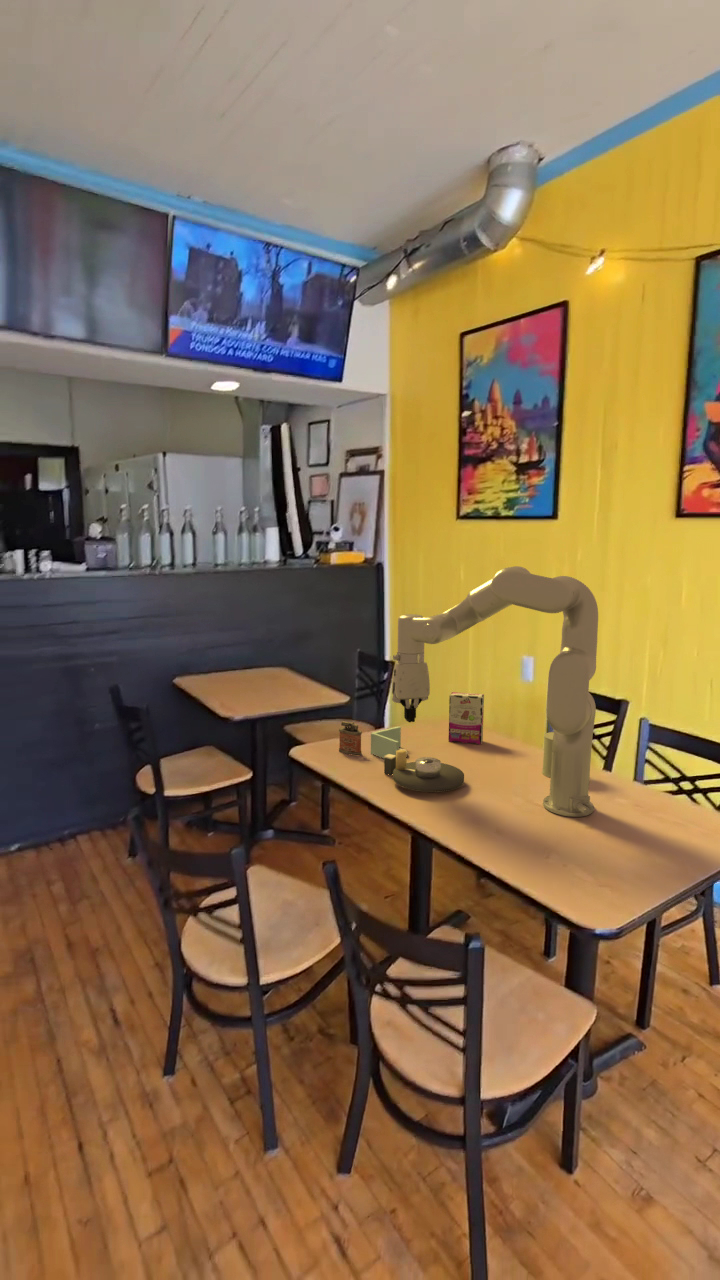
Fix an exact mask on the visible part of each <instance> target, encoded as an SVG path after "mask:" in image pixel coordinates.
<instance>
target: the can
mask: <svg viewBox="0 0 720 1280" xmlns="http://www.w3.org/2000/svg"><path fill="white" fill-rule="evenodd" d="M553 734H554V731H550V732H547V733H544V736H543V738H544V740H543V756H542V757H543V758H542V759H543V760H542V770H541V774H542V775H543V776H544V777H547V778H550V779H551V763H552V747H553Z"/></svg>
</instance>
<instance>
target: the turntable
mask: <svg viewBox="0 0 720 1280" xmlns="http://www.w3.org/2000/svg"><path fill="white" fill-rule="evenodd" d="M405 750H406V749H405ZM405 750H397V751H396V768H395V769H394V770H393V775H392V780H393V782H395V784H397V785H398V786H400V787H402V788H403V789H407V790H411V791H416V792H423V793H441V792H442V793H443V792H449V791H452V790H456V789H458V788H460V787H462V786H463V785H464V782H465V773H464V772H463V770H461V769H460V768H458V767H456V766H454V765H451V764H448V763H443V762H441V768H440V777H439V778H437V779H432V780H427V779H421V778H418V777H416V776H415V761H413V762H411V761H410V762H407V758H406V753H408V751H407V752H406V751H405Z"/></svg>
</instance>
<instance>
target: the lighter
mask: <svg viewBox="0 0 720 1280" xmlns="http://www.w3.org/2000/svg"><path fill="white" fill-rule="evenodd" d="M340 724H341V725H340V726H343V727H339V728H338V733H339V748H338V752H339V753H341V752H342V753H343V754H345V753H346V755H349V754H352V755H351V756H356V755H359V756H361V755H362V752H363V751H362V734H363V731H362V730H360V729H359V724H358V723H357V724H356V723H355V722H353V721H352V722H349V721H344V720H343V721H341V722H340ZM342 753H341V754H342Z"/></svg>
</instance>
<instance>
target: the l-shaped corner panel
mask: <svg viewBox="0 0 720 1280" xmlns="http://www.w3.org/2000/svg"><path fill="white" fill-rule="evenodd" d="M401 734H402V727H401V726H394V727H390V728H386V729H382V730H378V731H373V732H370V755H372V754H374V755H377V756H379V757H382V758H384V756H386V755H388V754H392V755H396V751H397V750H405V751H406V752H407V753H406V757H407V758H408V755H409V752H408V751H407V749H404V748H402V747H401V742H402V741H401V739H402V737H401V736H402V735H401ZM399 747H400V748H399ZM374 755H373V756H374ZM377 756H376V757H377ZM379 757H378V758H379ZM382 758H381V759H382ZM384 759H385V758H384ZM384 759H383V760H384Z"/></svg>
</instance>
